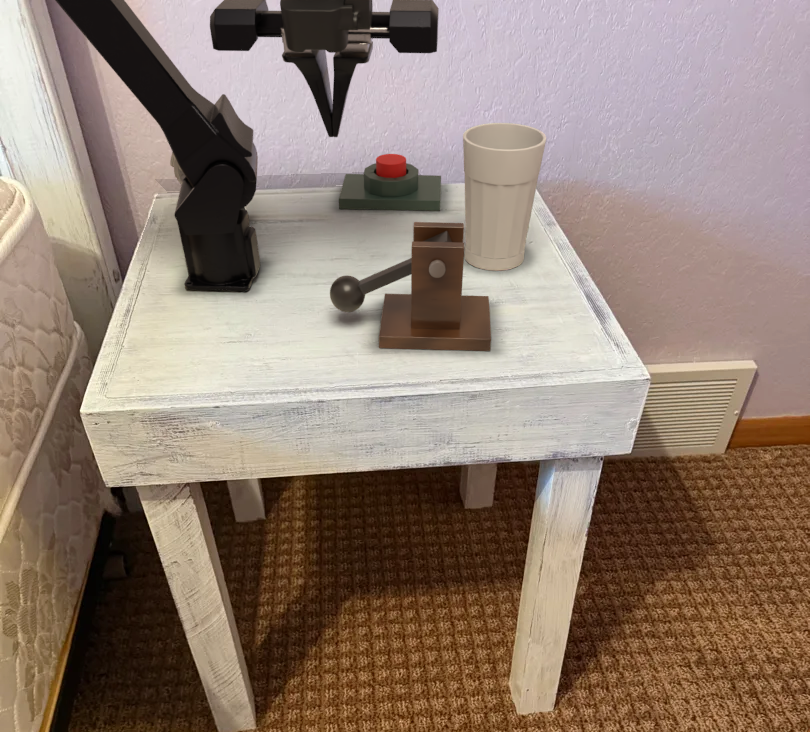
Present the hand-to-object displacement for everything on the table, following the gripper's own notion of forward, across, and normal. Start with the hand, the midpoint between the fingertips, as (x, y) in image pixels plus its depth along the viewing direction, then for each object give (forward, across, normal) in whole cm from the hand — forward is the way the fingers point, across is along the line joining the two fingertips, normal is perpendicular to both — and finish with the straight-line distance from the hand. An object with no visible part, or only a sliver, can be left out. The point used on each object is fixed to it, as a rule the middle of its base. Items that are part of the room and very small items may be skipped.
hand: (333, 135), depth 70 cm
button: (+10, +4, +20) cm, 23 cm away
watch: (+13, -15, +10) cm, 22 cm away
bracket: (+13, +10, -11) cm, 20 cm away
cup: (+13, +16, +4) cm, 21 cm away
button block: (+13, +4, +20) cm, 24 cm away
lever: (+9, +7, -11) cm, 16 cm away
